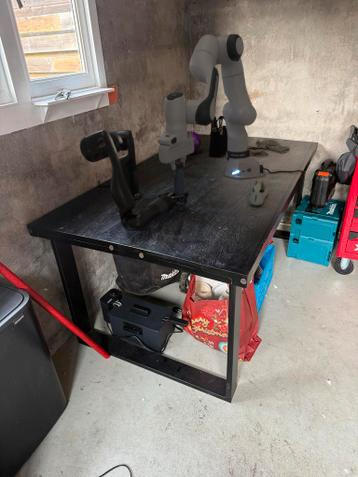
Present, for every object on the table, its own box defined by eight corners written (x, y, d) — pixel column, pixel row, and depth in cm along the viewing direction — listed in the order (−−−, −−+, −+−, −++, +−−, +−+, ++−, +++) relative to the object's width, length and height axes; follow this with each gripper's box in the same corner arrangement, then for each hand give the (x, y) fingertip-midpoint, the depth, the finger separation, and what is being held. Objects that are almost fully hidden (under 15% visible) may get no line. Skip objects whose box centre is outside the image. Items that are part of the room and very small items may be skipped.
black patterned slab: (219, 158, 219) (220, 119, 206) (207, 156, 223) (207, 118, 211) (232, 150, 234) (233, 113, 221) (221, 149, 238) (221, 112, 226)
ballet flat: (269, 188, 169) (270, 173, 165) (265, 208, 149) (266, 191, 145) (252, 187, 171) (253, 172, 167) (246, 206, 151) (247, 190, 147)
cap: (185, 166, 144) (184, 162, 143) (179, 169, 141) (179, 165, 140) (177, 165, 146) (176, 161, 145) (171, 168, 143) (171, 163, 142)
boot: (223, 139, 261) (223, 113, 251) (220, 148, 241) (220, 119, 231) (212, 139, 263) (212, 113, 253) (208, 147, 242) (208, 119, 232)
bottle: (173, 209, 153) (171, 165, 142) (178, 206, 156) (175, 162, 146) (182, 211, 151) (180, 166, 140) (186, 207, 155) (185, 163, 144)
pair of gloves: (254, 158, 214) (255, 150, 211) (233, 150, 234) (233, 142, 232) (291, 151, 223) (292, 143, 221) (268, 143, 244) (269, 136, 241)
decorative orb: (204, 151, 235) (204, 129, 228) (194, 156, 225) (193, 134, 217) (186, 149, 243) (186, 128, 235) (175, 154, 232) (174, 132, 224)
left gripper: (173, 202, 135) (195, 188, 147) (146, 195, 142) (170, 183, 154) (174, 218, 139) (196, 203, 151) (148, 211, 146) (171, 197, 158)
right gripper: (185, 130, 146) (186, 160, 153) (154, 140, 132) (157, 173, 139) (197, 131, 142) (197, 162, 149) (166, 142, 128) (169, 175, 135)
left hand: (182, 193), depth 152 cm, fingers closed on bottle, 4 cm apart
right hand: (178, 167), depth 144 cm, fingers closed on cap, 4 cm apart
